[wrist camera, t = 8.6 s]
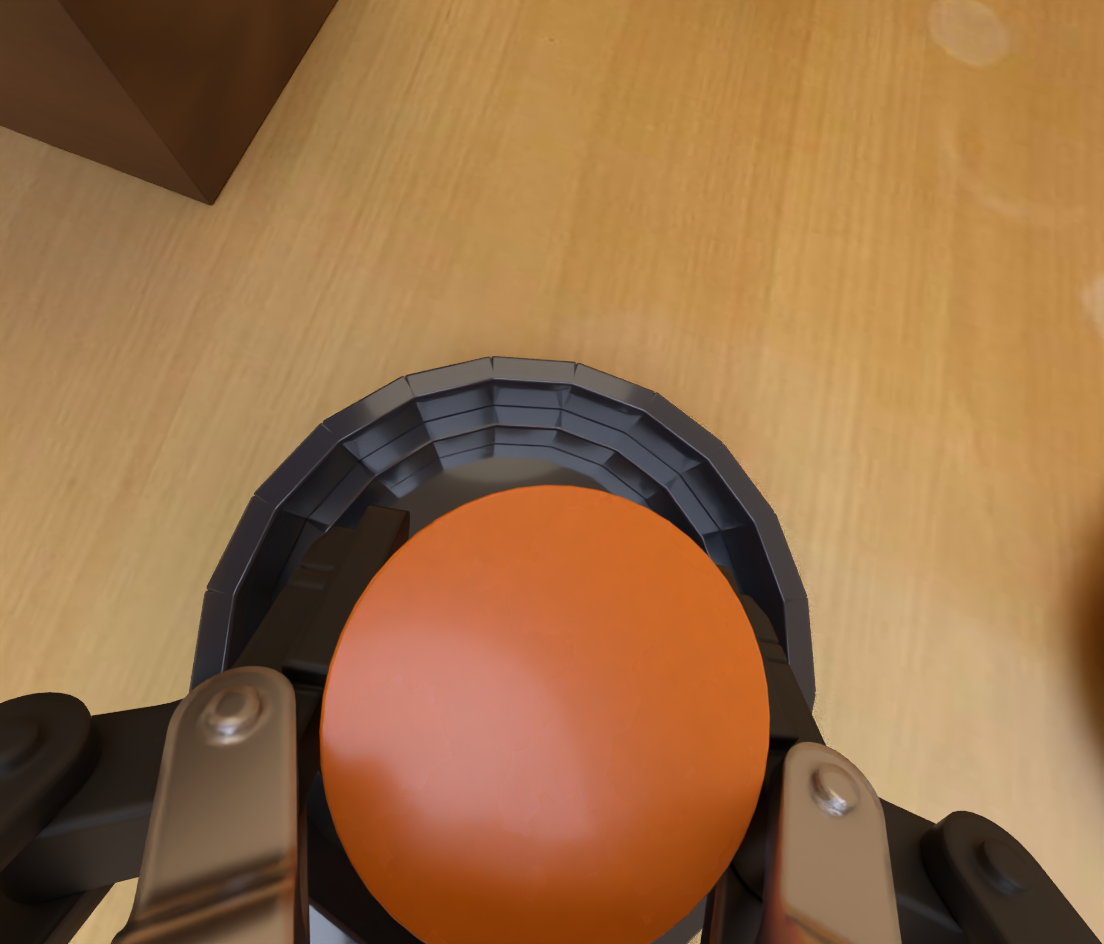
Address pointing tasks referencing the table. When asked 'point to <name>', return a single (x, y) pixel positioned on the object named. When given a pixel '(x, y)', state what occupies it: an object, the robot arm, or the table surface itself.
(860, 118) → the table surface
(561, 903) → the orange can
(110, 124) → the stand
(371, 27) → the table surface
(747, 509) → the pot
